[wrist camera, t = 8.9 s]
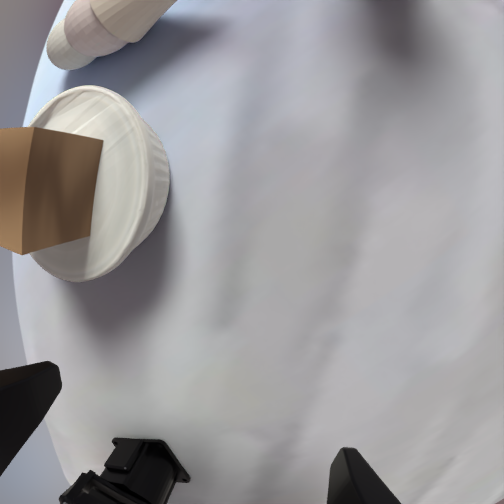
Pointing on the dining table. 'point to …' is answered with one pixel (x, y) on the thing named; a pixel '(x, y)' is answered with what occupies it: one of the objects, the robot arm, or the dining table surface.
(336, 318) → the dining table surface
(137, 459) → the robot arm
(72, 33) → the ice cream cone
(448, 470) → the dining table surface
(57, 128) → the ramekin
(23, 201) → the walnut cube
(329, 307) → the dining table surface
